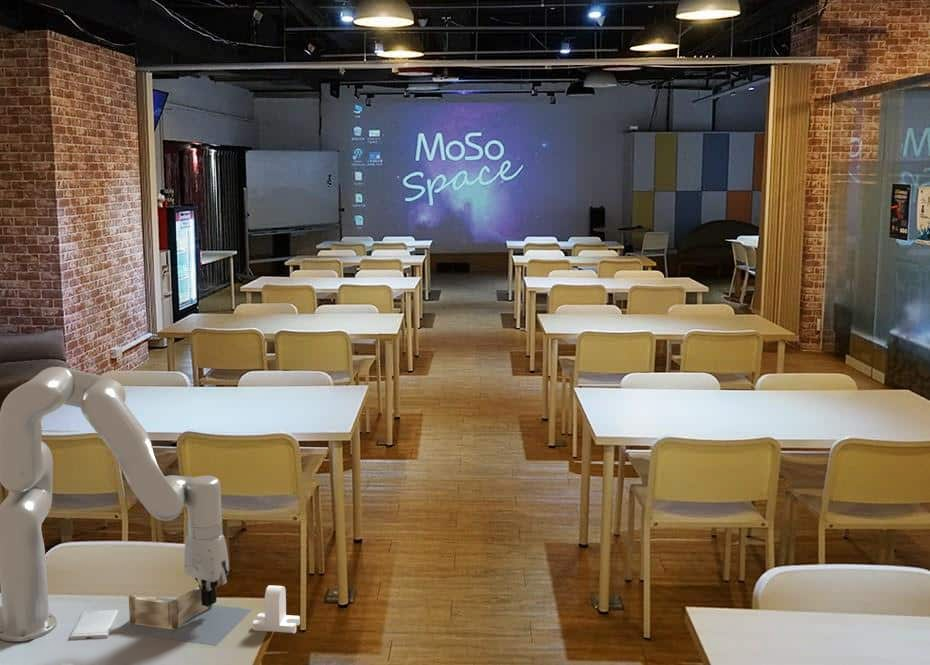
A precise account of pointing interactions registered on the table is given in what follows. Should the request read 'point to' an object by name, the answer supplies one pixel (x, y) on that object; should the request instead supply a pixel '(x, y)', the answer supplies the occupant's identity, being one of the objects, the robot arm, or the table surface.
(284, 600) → the cable organizer
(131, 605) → the fence fixed section
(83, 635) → the hard drive
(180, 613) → the fence swing panel
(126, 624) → the card
